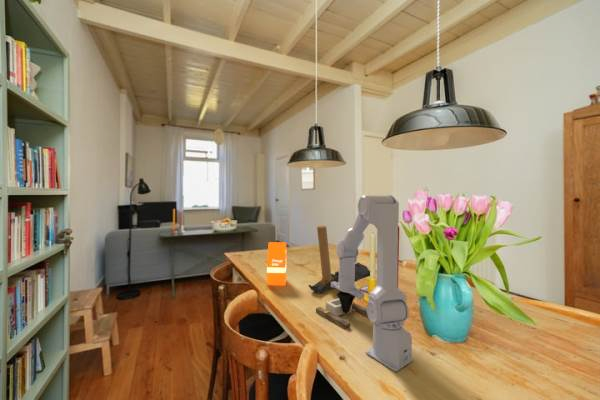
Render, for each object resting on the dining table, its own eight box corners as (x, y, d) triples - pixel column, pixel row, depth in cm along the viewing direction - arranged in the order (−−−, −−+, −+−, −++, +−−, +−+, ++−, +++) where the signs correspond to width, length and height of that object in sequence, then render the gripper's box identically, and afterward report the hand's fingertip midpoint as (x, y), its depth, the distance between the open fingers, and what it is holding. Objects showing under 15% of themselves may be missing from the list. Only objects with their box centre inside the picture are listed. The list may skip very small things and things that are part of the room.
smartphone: (367, 287, 124) (396, 296, 113) (358, 290, 119) (388, 300, 108) (367, 285, 124) (397, 294, 113) (358, 288, 119) (388, 298, 108)
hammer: (318, 300, 112) (310, 233, 107) (309, 297, 115) (302, 232, 111) (343, 281, 126) (338, 221, 122) (335, 278, 130) (329, 220, 125)
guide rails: (375, 316, 93) (375, 311, 93) (345, 329, 84) (345, 323, 84) (344, 302, 105) (344, 298, 105) (315, 312, 96) (315, 307, 96)
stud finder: (351, 312, 97) (351, 302, 97) (335, 317, 93) (335, 307, 93) (341, 306, 102) (341, 297, 102) (325, 311, 97) (325, 301, 97)
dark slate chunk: (329, 276, 140) (330, 267, 140) (351, 268, 156) (352, 260, 156) (354, 283, 129) (354, 273, 129) (375, 273, 145) (375, 265, 145)
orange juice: (285, 285, 124) (285, 243, 123) (266, 285, 124) (267, 243, 123) (286, 280, 131) (286, 240, 131) (269, 279, 132) (269, 240, 131)
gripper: (370, 278, 90) (369, 317, 90) (340, 268, 102) (339, 302, 102) (356, 282, 86) (355, 322, 86) (326, 271, 97) (326, 307, 98)
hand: (346, 312), depth 94 cm, fingers closed
